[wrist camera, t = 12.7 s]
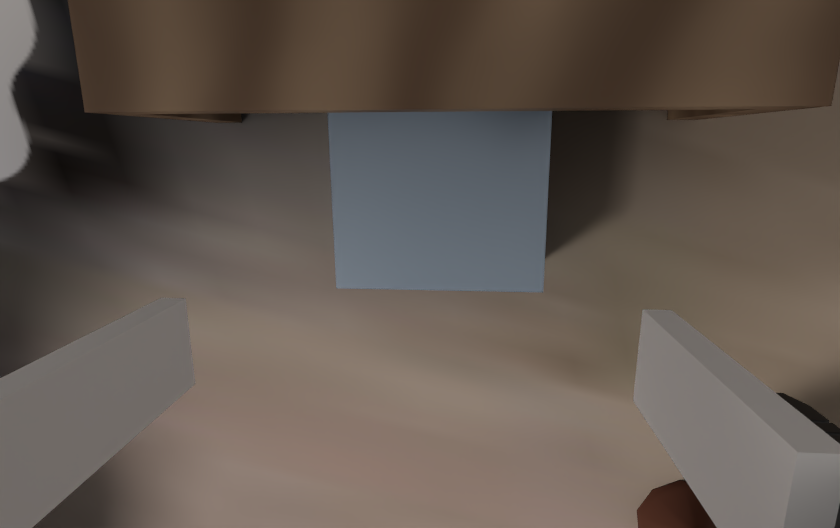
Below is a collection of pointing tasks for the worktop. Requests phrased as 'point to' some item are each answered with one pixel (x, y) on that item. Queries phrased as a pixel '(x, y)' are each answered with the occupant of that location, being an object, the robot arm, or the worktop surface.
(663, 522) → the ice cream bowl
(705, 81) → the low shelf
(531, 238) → the grey slate tile
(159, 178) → the worktop surface
